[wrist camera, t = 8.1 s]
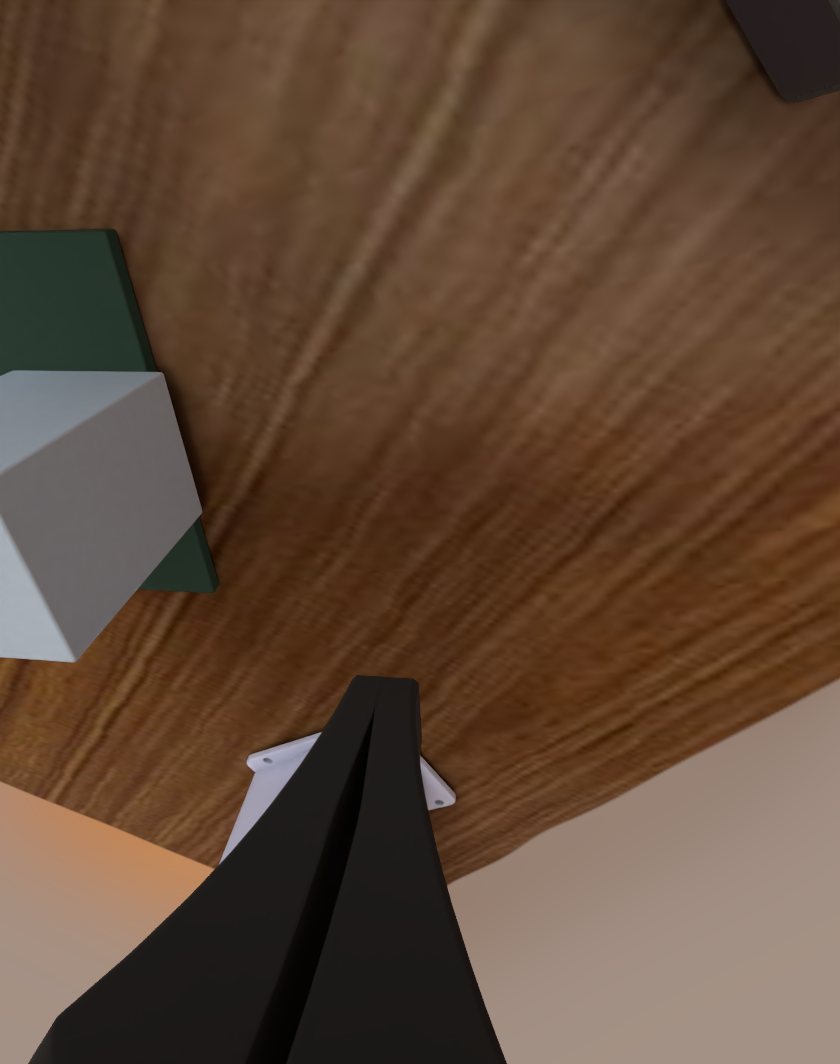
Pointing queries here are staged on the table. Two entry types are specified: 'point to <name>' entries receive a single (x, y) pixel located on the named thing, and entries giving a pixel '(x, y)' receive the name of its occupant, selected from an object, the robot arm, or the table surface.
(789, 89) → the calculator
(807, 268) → the table surface
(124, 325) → the rubber mat
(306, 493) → the table surface
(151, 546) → the grey block
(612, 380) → the table surface
